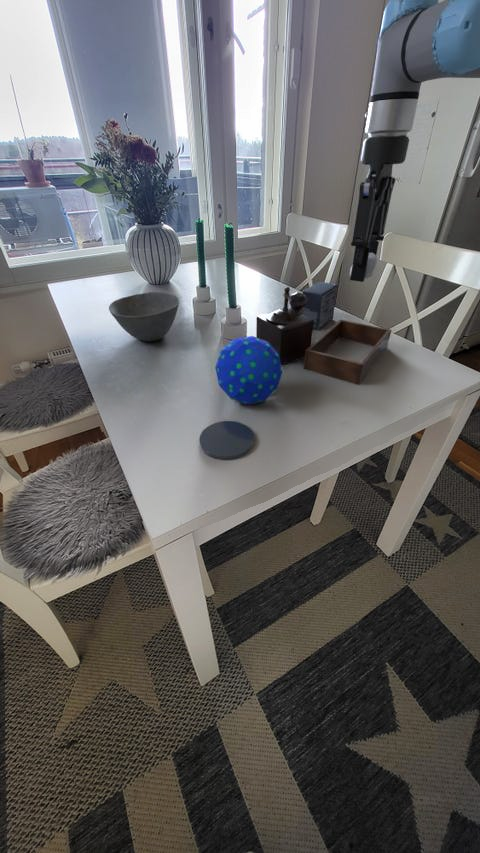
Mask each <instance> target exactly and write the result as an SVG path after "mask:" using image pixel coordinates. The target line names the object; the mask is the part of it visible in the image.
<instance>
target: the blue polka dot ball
mask: <svg viewBox="0 0 480 853" xmlns="http://www.w3.org/2000/svg"><path fill="white" fill-rule="evenodd" d="M215 372H216V373H215V374H216V378H217V382H218V386H219V387H220V389H221V390H222V391H223V392H224V393H225V394H226V395H227V396H228V397H229V399H230V400H233V401H236V402H239V403H241V404H244V405H252V404H257V403H261V402H265V401H266V400H267V399H268V398H269V397H270V396H271V395H272V394H273V393H274V392H275V391H276V390H278V388H279V385H280V382H281V378H282V375H283V367H282V364H281V362H280V357H279V355H278V353H277V352H276V351H275V350H274V348H273V347H272V346H271V345H270V344H269V342H266V341H264V340H261V339H259V338H256V336H253V335H251V336H244V337H237V338H234V339H232V340H231V341H230V342H229V343H228V344H226V346H224V347H223V348H222V349H221V350H220V352H219V356H218V357H217V361H216V364H215Z"/></svg>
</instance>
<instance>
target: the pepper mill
mask: <svg viewBox="0 0 480 853" xmlns="http://www.w3.org/2000/svg"><path fill="white" fill-rule="evenodd" d="M290 291H291V288H290V287H289V286H285V288H284V293H283V295H282V296H283V298H284V300H283V301H284V302H283V307H282V308H278V309H276V310H274V311H271V312H266V313H263V314H259V315H257V316H256V327H255V329H256V334H255V335H256V336H255V337H256V338H259V339H261V340H264V341H266V342H269V344H270V345H271V346H272V347H273V348H274V350H275V351H276V352H277V353H278V355H279V357H280V362H281V365H284V364H288V363H292V362H295V361H297V360H301V359H303V358H305V350H306V349H307V348H309V347H310V346H311V345H312V340H313V333H314V329H313V325H314V320H313V319H311V318H309V317H307V316H305V315H302V313H303V307H304V306H305V305H306V303H307V298H306V296H305V295H304V294H303V292H293V293H290ZM289 306H290V308H289Z"/></svg>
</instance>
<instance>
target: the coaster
mask: <svg viewBox="0 0 480 853" xmlns="http://www.w3.org/2000/svg"><path fill="white" fill-rule="evenodd" d="M198 440H199V441H198V442H199V447H200V449H201V451H202V452H203V453H204V454H205V455H206V456H208V457H210V458H212V459H216V460H221V461H222V460H223V461H227V460H235V459H239V458H241V457H243V456H245V455H246V454H248V453H249V452H250V451H251V450H252V448H253V447H254V444H255V434H254V432H253V431H252V429H251V428H250V427H249V426H248V425H246V424H245V423H242V422H239V421H235V420H222V421H217V422H213V423H212V424H209V425H208V426H206V427H205V428H204V429H202V432H201V433H200V434H199V438H198Z"/></svg>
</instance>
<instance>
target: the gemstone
mask: <svg viewBox="0 0 480 853" xmlns="http://www.w3.org/2000/svg"><path fill="white" fill-rule="evenodd" d="M377 262H378V257H377V254H376V255H375V254H374V253H369V256H368V262H367V267H366V273H365V278H364V280H365V279H368V278H371V277H373V274H374V271H375V268H376V265H377ZM351 271H352V266H351V267H350V269H349V276H350V277H351ZM350 277H349V278H350Z"/></svg>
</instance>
